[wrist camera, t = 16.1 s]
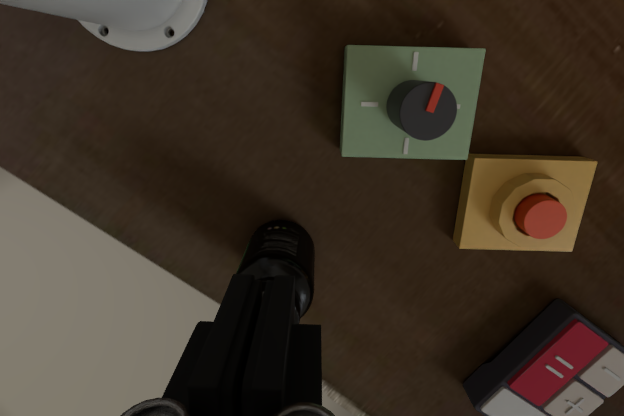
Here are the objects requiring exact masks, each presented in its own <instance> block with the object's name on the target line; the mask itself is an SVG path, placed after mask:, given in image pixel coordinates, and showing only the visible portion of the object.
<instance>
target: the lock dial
mask: <svg viewBox="0 0 624 416" xmlns="http://www.w3.org/2000/svg"><path fill="white" fill-rule="evenodd" d="M386 109H387V114H388V117H389V119H390V120H391V122H392V123H393V124H394V125H396V126H397V127H398V128H400V129H401V130H403V131H404V132H405V133H407V134H408V135H409V136H411V137H413V138H415V139H417V140H423V141H428V140H433V139H436V138H439V137H440V136H442V135H443V134H445V133H446V132H447V131H448V130H449V129H450V128H451V126H452V125H453V123H454V121H455V118H456V114H457V103H456V99H455V97H454V95H453V93H452V92H451V90H450V89H449V88H447V87H446V86H444V85H443V84H440V83H437V82H429V81H419V80H408V81H404V82H402V83H400V84H398V85H397V86H396V87H395V88H394V89H393V90H392V91H391V93H390V95H389V97H388V100H387V105H386Z"/></svg>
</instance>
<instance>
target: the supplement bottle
mask: <svg viewBox="0 0 624 416" xmlns="http://www.w3.org/2000/svg"><path fill="white" fill-rule="evenodd" d="M314 261H315V253H314V244H313V241H312V239H311V237H310V235H309V234H308V233H307V231H306V230H305V229H304V228H302V227H301V226H299V225H298V224H296V223H294V222H291V221H286V220H275V221H271V222H268V223H265V224H263V225H262V226H260V227H259V228H258V229H257V230H256V231H255V232H254V233H253V235H252V237H251V239H250V241H249V243H248V246H247V248H246V250H245V253H244V255H243V258H242V260H241V263H240V265H239V268H238V270H237V273H236V274H248V275H254V276H255V280H261V281H262V299H263V294H264V290H265V286H266V282H267V280H274V277H275V275H283V276H295V324H299V322H300V318H301V317H303V316H304V314H305V313H306V312H307V311H308V309H309V308H310V306H311V303H312V300H313V294H314Z"/></svg>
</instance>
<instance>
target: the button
mask: <svg viewBox="0 0 624 416" xmlns="http://www.w3.org/2000/svg"><path fill="white" fill-rule="evenodd" d="M514 218H515V222H516V224H517V225H518V227H519V228H521V229H522V230H523V231H524V232H526V233H527V234H528V235H530V236H531V237H533V238H536V239H547V238H550V237H553V236H554V235H556V234H557V233H559V232H560V231H561V230H562V228H563V227H564V225H565V223H566V220H567V212H566V209H565V207H564V206H563V205H562V204H561V203H559V202H558V201H556V200H554V199H552V198H550V197H549V196H547V195H543V194H534V195H531V196H528V197H526V198H525V199H523V200H522V201H521V202H520V203H519V205H518V206H517V208H516V210H515V215H514Z"/></svg>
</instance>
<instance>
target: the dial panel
mask: <svg viewBox="0 0 624 416" xmlns="http://www.w3.org/2000/svg"><path fill="white" fill-rule="evenodd" d="M485 50H486V49H485V48H448V47H408V46H369V45H347V46H346V47H345V52H344V73H343V93H342V113H341V134H340V152H341V156H342V157H376V158H414V159H451V160H467V159H468V153H469V147H470V141H471V135H472V129H473V123H474V117H475V111H476V105H477V99H478V93H479V87H480V80H481V74H482V68H483V62H484V56H485ZM408 80H419V81H429V82H437V83H440V84H443V85H444V86H446V87H447V88H449V89H450V90H451V92H452V93H453V95H454V97H455V99H456V103H457V114H456V118H455V121H454V123H453V125H452V126H451V128H450V129H449V130H448V131H447V132H446V133H445V134H443V135H442V136H440V137H439V138H436V139H433V140H428V141H423V140H417V139H415V138H413V137H411V136H409V135H408V134H407V133H405V132H404V131H403V130H401V129H400V128H398V127H397V126H396V125H394V124H393V123H392V122H391V120H390V119H389V117H388V114H387V109H386V105H387V100H388V97H389V95H390V93H391V91H392V90H393V89H394V88H395V87H396V86H397V85H398V84H400V83H402V82H404V81H408Z"/></svg>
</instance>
